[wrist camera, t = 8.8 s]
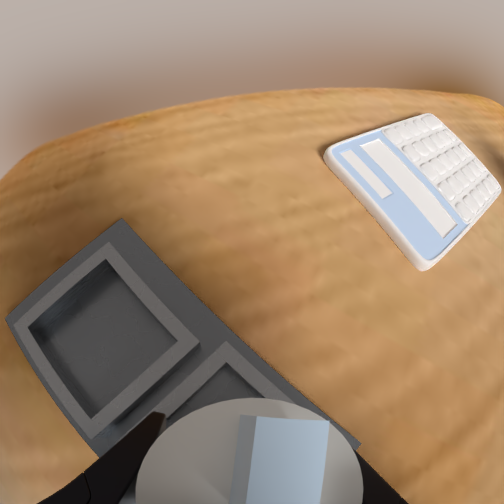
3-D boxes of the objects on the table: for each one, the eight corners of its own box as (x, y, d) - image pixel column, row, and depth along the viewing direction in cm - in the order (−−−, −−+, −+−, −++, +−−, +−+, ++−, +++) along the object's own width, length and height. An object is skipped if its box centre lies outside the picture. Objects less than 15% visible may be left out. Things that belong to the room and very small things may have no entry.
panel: (232, 565, 12) (235, 580, 10) (9, 320, 17) (-8, 310, 15) (357, 442, 16) (374, 444, 14) (123, 222, 21) (116, 204, 19)
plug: (272, 497, 13) (395, 624, 2) (172, 486, 12) (95, 622, 2) (282, 408, 15) (442, 385, 4) (184, 396, 15) (114, 353, 4)
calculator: (497, 196, 30) (506, 187, 28) (417, 280, 23) (430, 269, 21) (425, 119, 34) (431, 108, 32) (315, 159, 27) (321, 144, 25)
